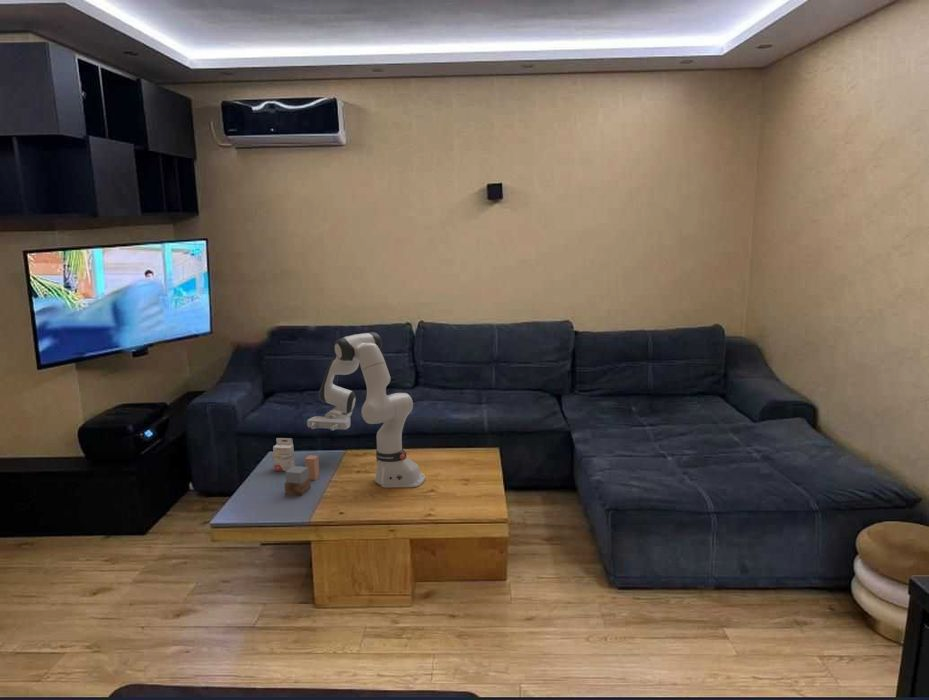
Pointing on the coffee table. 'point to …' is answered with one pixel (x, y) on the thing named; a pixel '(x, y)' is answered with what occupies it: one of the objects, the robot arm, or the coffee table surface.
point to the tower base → (297, 488)
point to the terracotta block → (312, 466)
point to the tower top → (297, 475)
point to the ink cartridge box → (283, 454)
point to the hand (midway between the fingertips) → (322, 428)
